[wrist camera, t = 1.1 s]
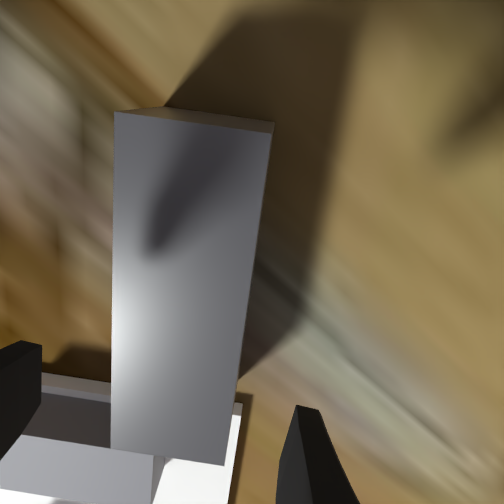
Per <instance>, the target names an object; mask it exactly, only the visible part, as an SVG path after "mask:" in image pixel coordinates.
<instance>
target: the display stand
mask: <svg viewBox="0 0 504 504" xmlns="http://www.w3.org/2000/svg"><path fill="white" fill-rule="evenodd" d="M242 406H243V404H242V403H236V402H234V408H233V415H232V421H231V427H230V434H229V440H228V446H227V453H226V459H225V465H224V466H219V465H213V464H206V463H200V462H194V461H187V460H181V459H174V458H168V457H162V456H155V455H149V454H143V453H136V452H130V451H123V450H117V449H111V383H107V382H101V381H94V380H88V379H82V378H75V377H69V376H62V375H56V374H50V373H43V372H42V391H41V404H40V406H39V407H38V409H37V411H36V412H35V414H34V415H33V417H32V419H31V420H30V422H29V423H28V425H27V426H26V428H25V429H24V431H23V432H22V434H21V436H20V437H19V438H18V439H17V441H16V442H15V443H14V445H13V446H12V447H11V448H10V449H9V451H8V452H7V453H6V454H5V456H4V457H3V458H2V459H1V461H0V504H227V503H228V496H229V490H230V484H231V477H232V471H233V465H234V458H235V452H236V446H237V439H238V433H239V427H240V420H241V414H242Z"/></svg>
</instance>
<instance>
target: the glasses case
mask: <svg viewBox="0 0 504 504" xmlns="http://www.w3.org/2000/svg"><path fill="white" fill-rule="evenodd" d="M274 126H275V122H271V121H264V120H257V119H250V118H242V117H235V116H228V115H221V114H214V113H207V112H200V111H193V110H186V109H179V108H171V107H164V106H162V107H153V108H143V109H134V110H124V111H115V112H114V184H113V273H112V362H111V449H117V450H123V451H130V452H136V453H143V454H149V455H155V456H162V457H168V458H174V459H181V460H187V461H194V462H200V463H206V464H213V465H219V466H224V465H225V459H226V453H227V446H228V440H229V434H230V427H231V421H232V415H233V408H234V402H235V396H236V389H237V383H238V376H239V369H240V362H241V355H242V348H243V341H244V334H245V327H246V321H247V314H248V307H249V300H250V293H251V286H252V279H253V272H254V265H255V258H256V251H257V244H258V237H259V230H260V223H261V216H262V209H263V202H264V195H265V188H266V181H267V175H268V168H269V161H270V154H271V147H272V140H273V133H274Z"/></svg>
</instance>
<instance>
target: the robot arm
mask: <svg viewBox="0 0 504 504" xmlns="http://www.w3.org/2000/svg"><path fill="white" fill-rule="evenodd" d="M41 391H42V345H39V344H35V343H31V342H26V341H22V340H20V341H18V342H16V343H13V344H11V345H9V346H7V347H4V348H2V349H0V461H1V459H2V458H3V457H4V456H5V454H6V453H7V452H8V451H9V449H10V448H11V447H12V446H13V445H14V443H15V442H16V441H17V439H18V438H19V437H20V436H21V434H22V432H23V431H24V429H25V428H26V426H27V425H28V423H29V422H30V420H31V419H32V417H33V415H34V414H35V412H36V411H37V409H38V407H39V406H40V404H41ZM276 504H360V503H359V501H358V499H357V497H356V495H355V493H354V491H353V489H352V487H351V485H350V483H349V480H348V478H347V476H346V474H345V472H344V470H343V468H342V465H341V463H340V461H339V459H338V456H337V454H336V452H335V449H334V447H333V445H332V442H331V440H330V437H329V435H328V432H327V429H326V427H325V424H324V421H323V419H322V416H321V413H320V412H319V410H317V409H312V408H308V407H304V406H300V405H296V407H295V411H294V414H293V417H292V420H291V424H290V427H289V430H288V434H287V437H286V440H285V444H284V447H283V450H282V453H281V457H280V461H279V471H278V480H277V490H276Z"/></svg>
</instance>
